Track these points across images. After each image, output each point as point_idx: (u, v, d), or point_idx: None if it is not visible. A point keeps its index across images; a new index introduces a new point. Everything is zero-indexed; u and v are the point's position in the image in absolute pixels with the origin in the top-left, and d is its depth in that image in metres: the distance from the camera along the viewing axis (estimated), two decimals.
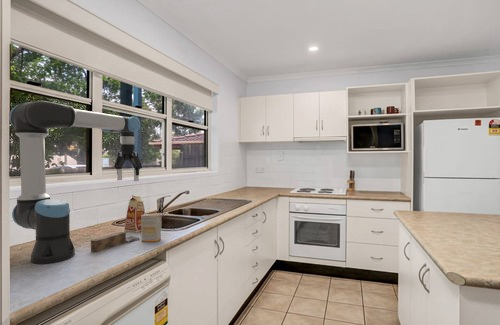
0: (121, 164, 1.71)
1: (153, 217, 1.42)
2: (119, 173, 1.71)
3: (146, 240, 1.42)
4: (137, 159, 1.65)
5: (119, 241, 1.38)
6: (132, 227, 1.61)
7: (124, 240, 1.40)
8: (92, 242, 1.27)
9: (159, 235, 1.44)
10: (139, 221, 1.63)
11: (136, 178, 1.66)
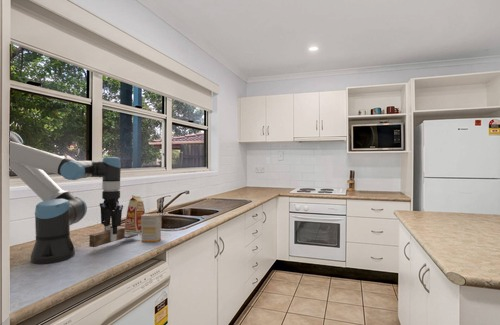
0: (108, 217, 1.36)
1: (153, 217, 1.42)
2: None
3: (146, 240, 1.42)
4: (119, 215, 1.33)
5: (118, 236, 1.38)
6: (132, 227, 1.61)
7: (123, 236, 1.40)
8: (91, 237, 1.27)
9: (159, 235, 1.44)
10: (139, 221, 1.63)
11: (113, 237, 1.34)
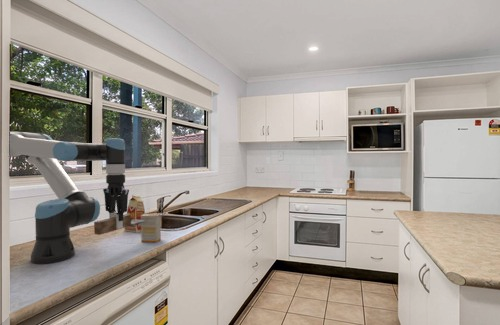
0: (113, 203, 1.27)
1: (153, 217, 1.41)
2: None
3: (146, 240, 1.42)
4: (125, 200, 1.24)
5: (124, 223, 1.29)
6: (132, 227, 1.61)
7: (129, 223, 1.31)
8: (96, 224, 1.18)
9: (159, 235, 1.44)
10: None
11: (119, 225, 1.26)
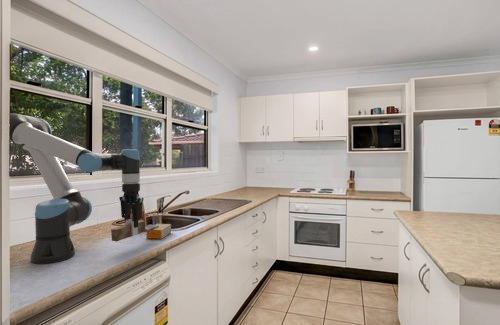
0: (128, 211, 1.34)
1: (167, 224, 1.58)
2: None
3: None
4: (140, 207, 1.30)
5: (139, 229, 1.35)
6: None
7: (144, 229, 1.38)
8: (112, 231, 1.25)
9: (163, 234, 1.49)
10: None
11: (134, 231, 1.32)
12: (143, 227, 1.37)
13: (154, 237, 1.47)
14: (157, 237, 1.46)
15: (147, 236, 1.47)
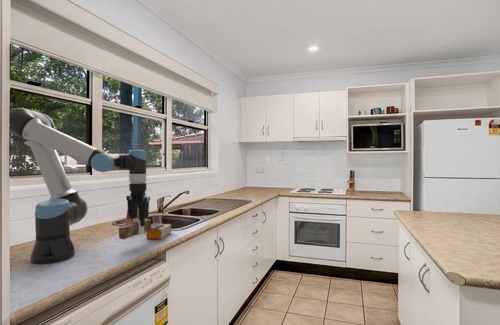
0: (135, 210, 1.37)
1: (167, 224, 1.58)
2: None
3: None
4: (146, 206, 1.34)
5: (145, 228, 1.39)
6: None
7: (150, 227, 1.41)
8: (120, 229, 1.29)
9: (163, 234, 1.49)
10: None
11: (141, 229, 1.36)
12: (149, 226, 1.41)
13: (154, 237, 1.47)
14: (157, 237, 1.46)
15: (147, 236, 1.47)
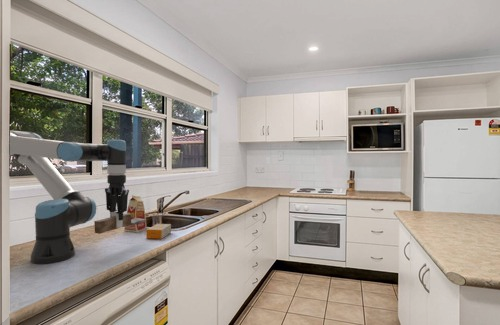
0: (114, 203, 1.31)
1: (167, 224, 1.58)
2: None
3: (151, 229, 1.47)
4: (125, 200, 1.27)
5: (124, 222, 1.32)
6: (132, 227, 1.61)
7: (129, 222, 1.34)
8: (96, 223, 1.22)
9: (163, 234, 1.49)
10: None
11: (119, 224, 1.29)
12: (129, 220, 1.34)
13: (154, 237, 1.47)
14: (157, 237, 1.46)
15: (147, 236, 1.47)
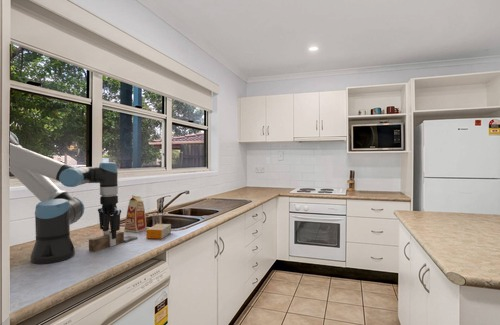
0: (107, 222, 1.37)
1: (167, 224, 1.58)
2: None
3: (151, 229, 1.47)
4: (117, 219, 1.34)
5: (117, 240, 1.39)
6: (132, 227, 1.61)
7: (122, 239, 1.41)
8: (90, 241, 1.28)
9: (163, 234, 1.49)
10: (139, 221, 1.63)
11: (112, 242, 1.36)
12: (121, 238, 1.41)
13: (154, 237, 1.47)
14: (157, 237, 1.46)
15: (147, 236, 1.47)
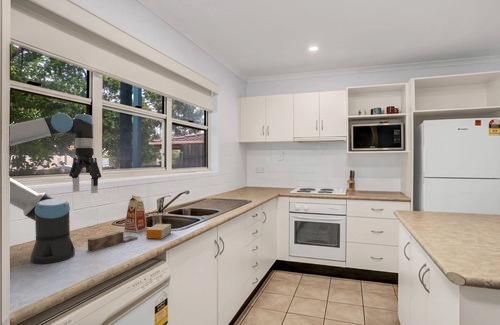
0: (77, 172, 1.41)
1: (167, 224, 1.58)
2: (75, 183, 1.41)
3: (151, 229, 1.47)
4: (95, 166, 1.35)
5: (117, 240, 1.39)
6: (132, 227, 1.61)
7: (122, 239, 1.41)
8: (89, 241, 1.29)
9: (163, 234, 1.49)
10: (139, 221, 1.63)
11: (94, 189, 1.35)
12: (121, 238, 1.41)
13: (154, 237, 1.47)
14: (157, 237, 1.46)
15: (147, 236, 1.47)
